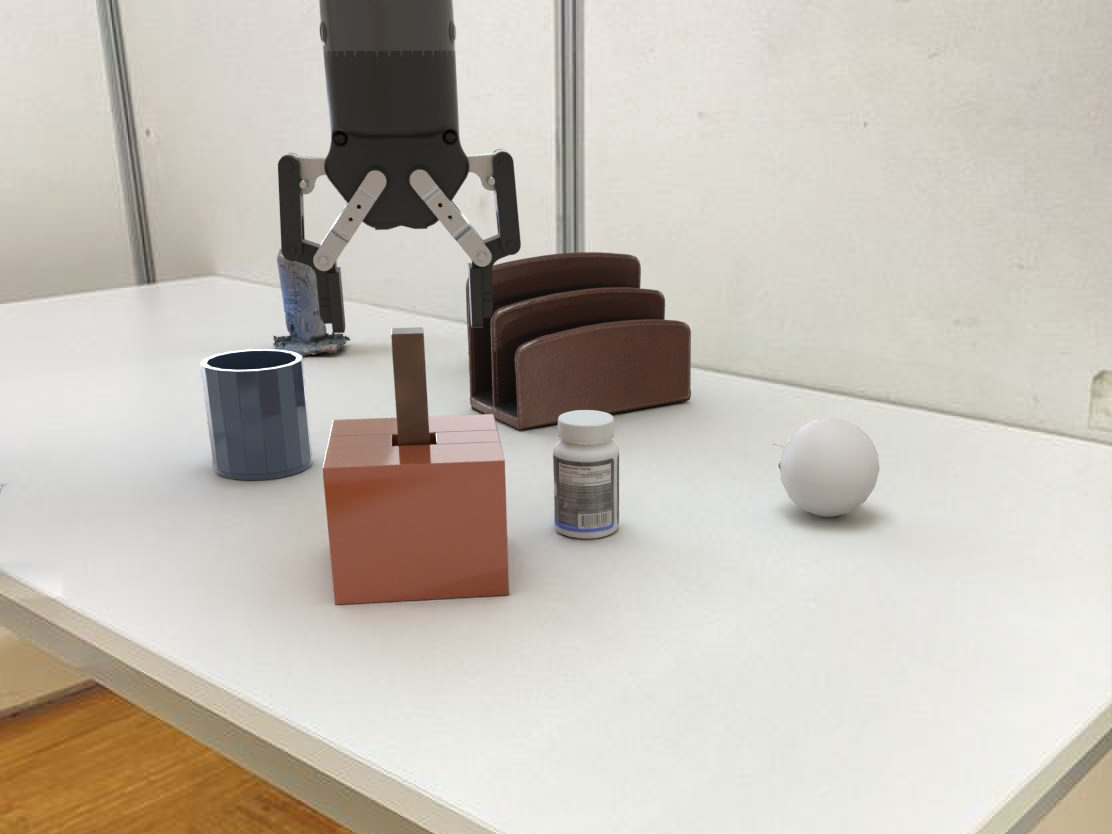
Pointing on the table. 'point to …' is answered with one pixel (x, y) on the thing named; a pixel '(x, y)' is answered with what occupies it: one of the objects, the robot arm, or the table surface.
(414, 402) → the stick
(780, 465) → the white ball
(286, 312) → the beverage can
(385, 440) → the tissue box
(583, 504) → the pill bottle
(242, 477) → the cup
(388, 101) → the robot arm
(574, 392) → the letter holder
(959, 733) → the table surface
